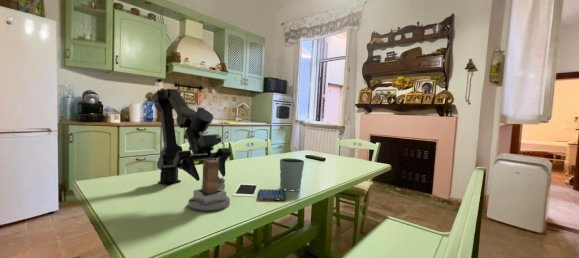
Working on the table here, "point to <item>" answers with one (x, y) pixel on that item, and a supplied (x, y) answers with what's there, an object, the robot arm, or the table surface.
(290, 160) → the grey cup
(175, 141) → the robot arm
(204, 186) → the brown wooden square peg
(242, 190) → the cell phone
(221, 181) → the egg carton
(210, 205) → the rosette socket
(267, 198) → the woven mat
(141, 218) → the table surface
